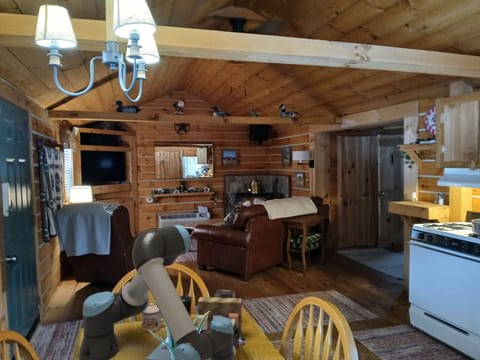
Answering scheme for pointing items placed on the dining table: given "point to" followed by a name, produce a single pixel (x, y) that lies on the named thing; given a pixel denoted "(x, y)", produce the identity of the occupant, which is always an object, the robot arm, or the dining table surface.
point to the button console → (220, 309)
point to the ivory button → (205, 323)
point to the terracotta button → (234, 317)
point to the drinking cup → (186, 301)
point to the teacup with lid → (151, 318)
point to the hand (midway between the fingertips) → (233, 322)
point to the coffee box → (225, 293)
